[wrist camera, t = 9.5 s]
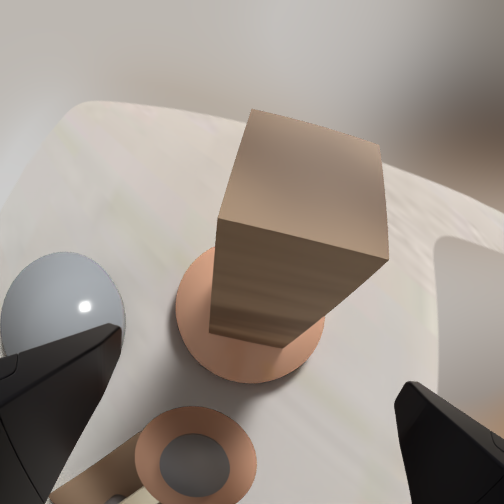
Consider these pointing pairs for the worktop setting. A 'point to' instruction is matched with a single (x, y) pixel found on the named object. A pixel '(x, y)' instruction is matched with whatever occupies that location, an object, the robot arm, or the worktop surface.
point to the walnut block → (295, 229)
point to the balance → (171, 464)
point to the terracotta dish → (228, 349)
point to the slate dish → (58, 301)
